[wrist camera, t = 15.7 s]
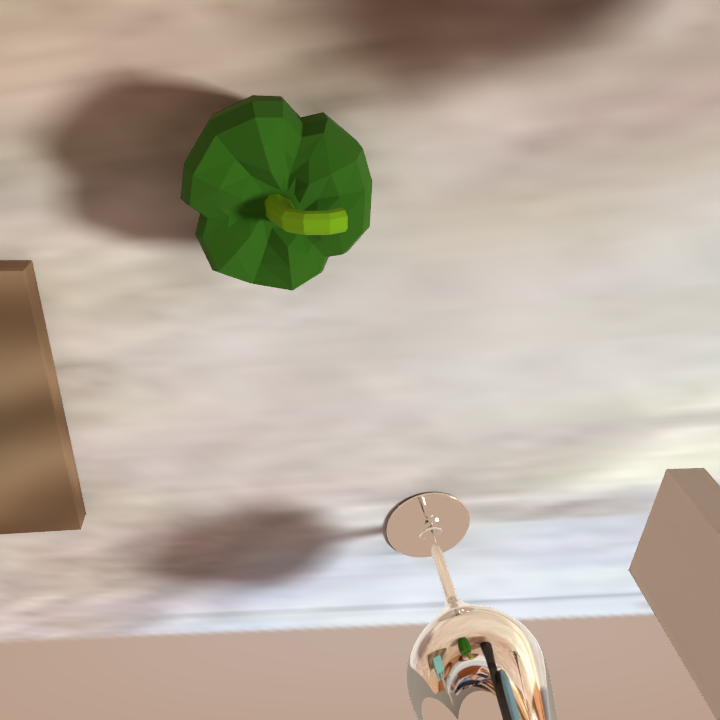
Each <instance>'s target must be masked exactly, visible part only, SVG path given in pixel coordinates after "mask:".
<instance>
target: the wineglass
mask: <svg viewBox="0 0 720 720" xmlns="http://www.w3.org/2000/svg"><path fill="white" fill-rule="evenodd" d="M469 522H470V517H469V513H468V510H467V508H466V506H465V505H464V504H463V502H462V501H460V500H459V499H458V498H456V497H454V496H452V495H449V494H446V493H439V492H432V493H424V494H420V495H417V496H414V497H412V498H410V499H408V500H406V501H405V502H403V503H402V504H400V505H399V506H398V507H397V508H396V509H395V510H394V511H393V513H392V514H391V516H390V518H389V520H388V522H387V527H386V533H387V538H388V540H389V542H390V544H391V545H392V547H393V548H394V549H396V550H397V551H398V552H400V553H402V554H404V555H407V556H411V557H430V556H432V557H433V560H434V564H435V567H436V570H437V573H438V576H439V580H440V583H441V586H442V589H443V593H444V596H445V600H446V603H445V607H444V609H443V611H442V612H441V613H440V614H439V615H438V616H436V617H435V618H434V619H433V620H432V621H431V622H430V623H429V624H428V625H427V626H426V627H425V629H424V630H423V631H422V633H421V634H420V636H419V637H418V639H417V641H416V642H415V645H414V647H413V649H412V652H411V655H410V658H409V662H408V668H407V686H408V692H409V696H410V700H411V703H412V706H413V708H414V710H415V713H416V715H417V718H418V720H557V717H556V711H555V704H554V697H553V691H552V685H551V680H550V675H549V671H548V667H547V663H546V660H545V657H544V654H543V652H542V649H541V647H540V645H539V643H538V642H537V640H536V639H535V637H534V636H533V635H532V634H531V632H530V631H529V630H528V629H527V628H526V627H525V626H524V625H523V624H522V623H520V622H519V621H518V620H516V619H515V618H513V617H512V616H510V615H508V614H506V613H504V612H502V611H500V610H497V609H494V608H491V607H487V606H482V605H474V604H467V603H465V602H463V601H461V600H460V599H459V598H458V597H457V594H456V591H455V588H454V585H453V583H452V580H451V577H450V574H449V571H448V568H447V565H446V562H445V559H444V556H443V552H445V551H447V550H449V549H451V548H452V547H454V546H455V545H456V544H457V543H459V542H460V541H461V539H462V538H463V537H464V535H465V534H466V532H467V530H468V527H469Z"/></svg>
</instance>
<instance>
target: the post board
mask: <svg viewBox="0 0 720 720" xmlns="http://www.w3.org/2000/svg"><path fill="white" fill-rule="evenodd" d="M85 514H86V512H85V507H84V502H83V498H82V493H81V488H80V484H79V479H78V474H77V470H76V465H75V460H74V456H73V451H72V446H71V441H70V437H69V432H68V427H67V423H66V418H65V413H64V409H63V404H62V399H61V395H60V390H59V385H58V381H57V376H56V371H55V366H54V362H53V357H52V352H51V348H50V343H49V338H48V334H47V329H46V324H45V320H44V315H43V310H42V306H41V301H40V296H39V291H38V287H37V282H36V277H35V273H34V268H33V263H32V261H0V534H12V533H28V532H45V531H61V530H78V529H81V526H82V523H83V520H84V517H85Z"/></svg>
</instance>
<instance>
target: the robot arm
mask: <svg viewBox="0 0 720 720" xmlns="http://www.w3.org/2000/svg"><path fill="white" fill-rule="evenodd" d="M629 571H630V573H631V575H632V577H633V578H634V580H635V582H636V583H637V585H638V587H639V588H640V590H641V592H642V594H643V595H644V597H645V599H646V600H647V602H648V604H649V605H650V607H651V609H652V611H653V612H654V614H655V616H656V617H657V619H658V621H659V622H660V624H661V626H662V627H663V629H664V631H665V632H666V634H667V636H668V637H669V639H670V641H671V643H672V644H673V646H674V648H675V650H676V651H677V653H678V655H679V656H680V658H681V660H682V661H683V663H684V665H685V667H686V668H687V670H688V672H689V673H690V675H691V677H692V678H693V680H694V682H695V683H696V685H697V687H698V689H699V690H700V692H701V694H702V695H703V697H704V699H705V701H706V702H707V704H708V705H709V707H710V709H711V711H712V712H713V714H714V716H715V718H716V719H717V720H720V486H719V485H718V484H717V482H716V481H715V480H714V479H713V478H712V477H711V475H710V474H709V473H708V472H707V471H706V470H705V469H704V468H691V469H667V470H666V472H665V475H664V478H663V480H662V483H661V486H660V488H659V491H658V493H657V496H656V499H655V501H654V504H653V507H652V509H651V512H650V515H649V517H648V520H647V523H646V525H645V528H644V531H643V533H642V536H641V539H640V541H639V544H638V547H637V549H636V552H635V555H634V557H633V560H632V563H631V565H630V568H629Z"/></svg>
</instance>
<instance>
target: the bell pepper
mask: <svg viewBox="0 0 720 720" xmlns="http://www.w3.org/2000/svg"><path fill="white" fill-rule="evenodd" d="M371 193H372V179H371V176H370V172H369V169H368V165H367V162H366V158H365V155H364V151H363V148H362V147H361V146H360V144H359V143H358V142H357V141H356V140H355V139H354V138H353V137H352V136H351V135H349V134H348V133H347V132H346V131H345V130H344V129H342V128H341V127H340V126H339V125H338V124H337V123H335V122H334V121H333V120H332V119H331V118H329V117H328V116H327V115H326V114H325V113H324V112H322V113H318V114H314V115H310V116H305V117H301V118H300V117H299V115H298V114H297V113H296V112H295V111H294V110H293V109H292V108H291V107H290V106H289V104H288V103H287V102H286V101H285V100H284V99H283V98H282V97H279V96H256V95H252V96H250V97H248V98H246V99H244V100H242V101H240V102H238V103H236V104H233V105H231V106H229V107H227V108H225V109H223V110H221V111H219V112H217V113H214V114H213V115H212V117H211V118H210V120H209V122H208V123H207V125H206V127H205V129H204V130H203V132H202V134H201V135H200V137H199V139H198V141H197V142H196V144H195V146H194V147H193V149H192V151H191V153H190V154H189V156H188V158H187V160H186V162H185V163H184V170H183V180H182V190H181V199H182V200H183V201H185V202H186V203H187V204H188V205H189V206H191V207H192V208H194V209H195V210H197V211H198V212H200V217H199V222H198V226H197V230H196V236H197V238H198V240H199V242H200V245H201V247H202V249H203V251H204V253H205V255H206V257H207V259H208V261H209V264H210V266H211V268H212V270H214V271H217V272H220V273H223V274H225V275H228V276H231V277H234V278H237V279H240V280H243V281H246V282H249V283H253V284H258V285H264V286H270V287H276V288H282V289H288V290H294V289H295V288H297V287H299V286H300V285H302V284H303V283H305V282H307V281H308V280H310V279H311V278H313V277H315V276H316V275H318V274H320V273H321V272H322V271H323V269H324V266H325V264H326V262H327V259H328V257H329V256H335V255H341V254H344V253H346V252H347V251H348V250H349V249H350V248H351V247H352V246H353V245H354V243H355V242H356V241H357V240H358V239H359V238H360V237H361V236H362V234H363V233H364V232H365V231H366V230H367V229H368V228H369V226H370V210H371Z"/></svg>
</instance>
